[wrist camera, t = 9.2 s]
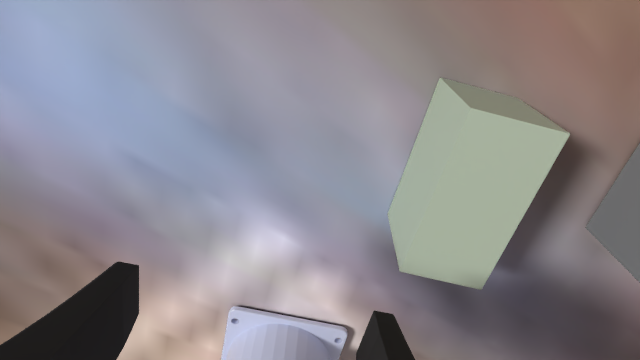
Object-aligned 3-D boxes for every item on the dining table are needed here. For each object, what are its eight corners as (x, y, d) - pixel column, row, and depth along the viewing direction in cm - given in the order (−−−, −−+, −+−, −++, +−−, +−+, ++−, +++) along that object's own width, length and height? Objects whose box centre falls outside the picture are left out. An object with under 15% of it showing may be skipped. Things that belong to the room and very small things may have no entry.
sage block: (453, 229, 23) (481, 289, 19) (387, 213, 23) (399, 271, 18) (517, 97, 20) (570, 133, 15) (440, 77, 19) (470, 108, 15)
